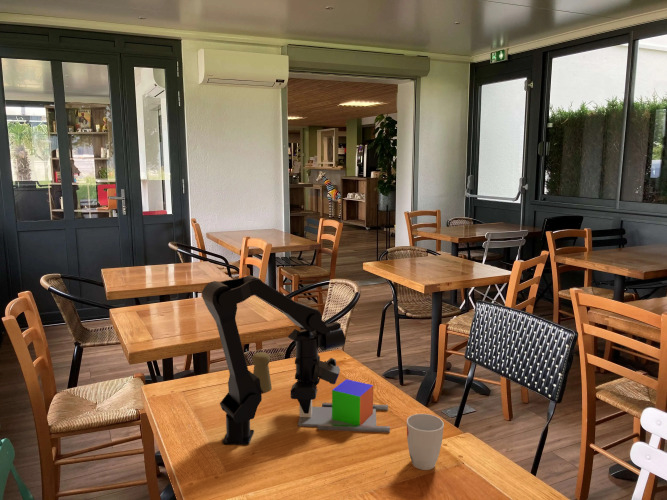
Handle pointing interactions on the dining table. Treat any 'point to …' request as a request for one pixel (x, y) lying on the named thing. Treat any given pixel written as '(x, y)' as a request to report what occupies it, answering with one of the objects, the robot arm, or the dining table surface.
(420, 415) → the cup
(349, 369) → the dining table surface
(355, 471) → the dining table surface
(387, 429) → the lane rails
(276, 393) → the dining table surface
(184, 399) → the dining table surface
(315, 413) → the grey panel with knob
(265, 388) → the cork
